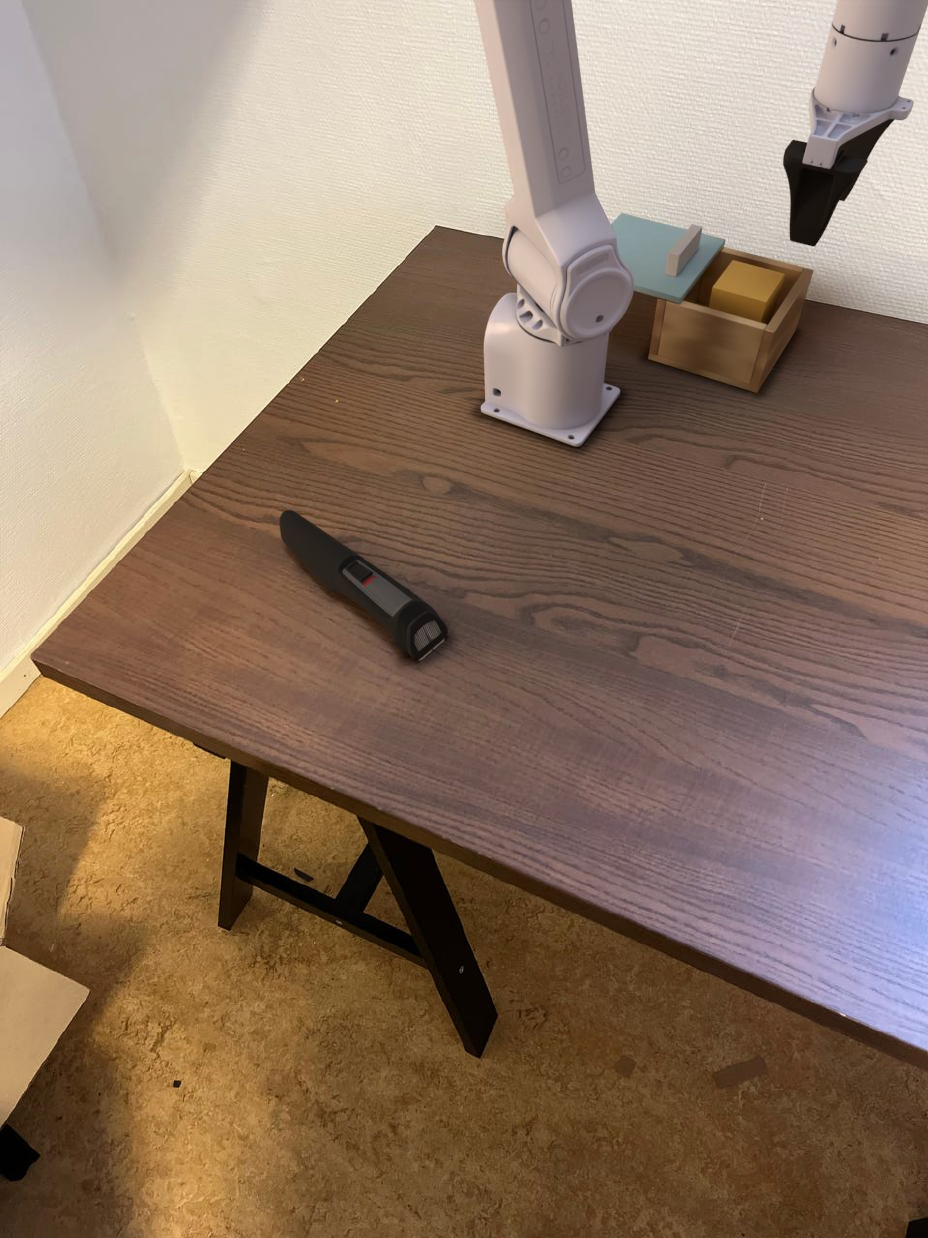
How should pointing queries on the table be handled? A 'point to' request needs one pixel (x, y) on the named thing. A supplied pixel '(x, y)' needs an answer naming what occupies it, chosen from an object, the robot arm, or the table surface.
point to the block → (747, 292)
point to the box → (728, 327)
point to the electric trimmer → (365, 586)
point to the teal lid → (664, 255)
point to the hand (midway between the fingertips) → (818, 218)
